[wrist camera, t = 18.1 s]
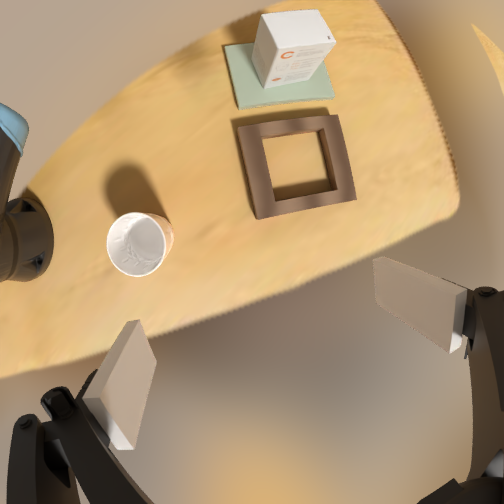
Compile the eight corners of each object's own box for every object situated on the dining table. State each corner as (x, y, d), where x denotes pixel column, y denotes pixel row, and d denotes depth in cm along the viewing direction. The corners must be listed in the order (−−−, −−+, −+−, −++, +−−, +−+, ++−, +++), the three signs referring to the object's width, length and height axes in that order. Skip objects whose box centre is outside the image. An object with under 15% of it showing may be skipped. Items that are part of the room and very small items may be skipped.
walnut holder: (256, 218, 43) (258, 219, 41) (237, 131, 41) (237, 127, 38) (350, 199, 44) (356, 199, 42) (331, 118, 42) (337, 114, 39)
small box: (295, 50, 38) (318, 8, 25) (309, 80, 39) (338, 43, 26) (249, 58, 38) (260, 13, 25) (262, 90, 39) (278, 49, 26)
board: (238, 110, 40) (239, 107, 39) (224, 50, 38) (224, 46, 37) (332, 99, 41) (335, 96, 40) (313, 43, 39) (315, 39, 38)
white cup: (120, 236, 41) (95, 245, 32) (153, 200, 41) (133, 198, 31) (155, 271, 43) (137, 289, 33) (188, 235, 43) (179, 244, 33)
